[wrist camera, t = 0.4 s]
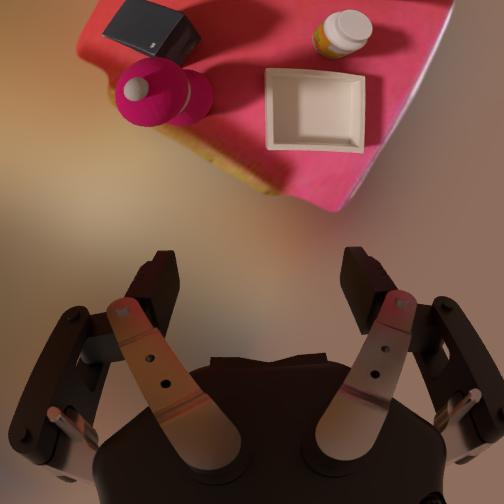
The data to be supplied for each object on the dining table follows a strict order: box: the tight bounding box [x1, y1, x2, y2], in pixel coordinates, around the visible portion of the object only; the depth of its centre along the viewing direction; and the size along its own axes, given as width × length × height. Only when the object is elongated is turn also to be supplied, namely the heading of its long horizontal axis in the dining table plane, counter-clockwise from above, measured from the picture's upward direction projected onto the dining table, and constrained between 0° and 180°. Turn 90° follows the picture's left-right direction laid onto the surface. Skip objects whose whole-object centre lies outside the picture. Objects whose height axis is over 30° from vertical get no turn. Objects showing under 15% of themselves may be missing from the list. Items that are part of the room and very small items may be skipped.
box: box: [102, 0, 201, 67], centre depth 23 cm, size 8×6×11 cm
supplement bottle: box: [312, 10, 372, 59], centre depth 24 cm, size 5×5×10 cm
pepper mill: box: [115, 57, 214, 127], centre depth 23 cm, size 7×7×20 cm
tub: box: [264, 68, 365, 153], centre depth 31 cm, size 10×12×4 cm
